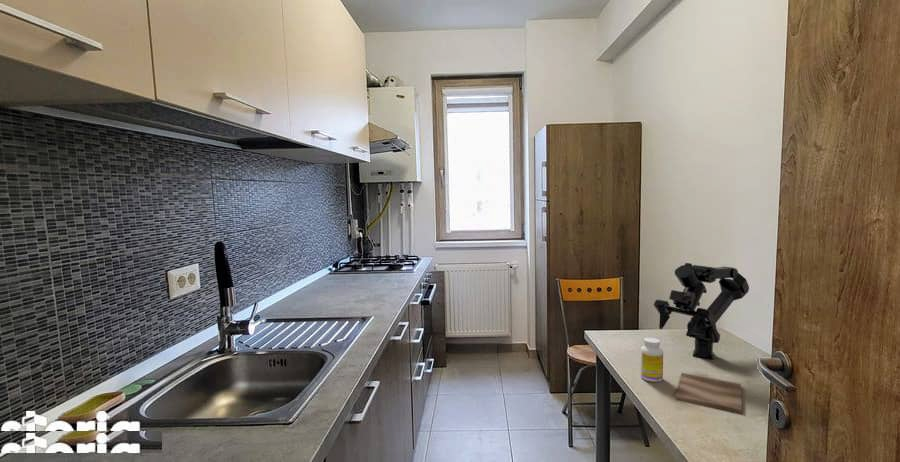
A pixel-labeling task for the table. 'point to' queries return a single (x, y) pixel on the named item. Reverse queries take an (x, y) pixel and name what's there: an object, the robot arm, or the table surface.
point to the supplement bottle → (651, 360)
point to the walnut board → (710, 392)
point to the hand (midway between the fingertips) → (673, 332)
